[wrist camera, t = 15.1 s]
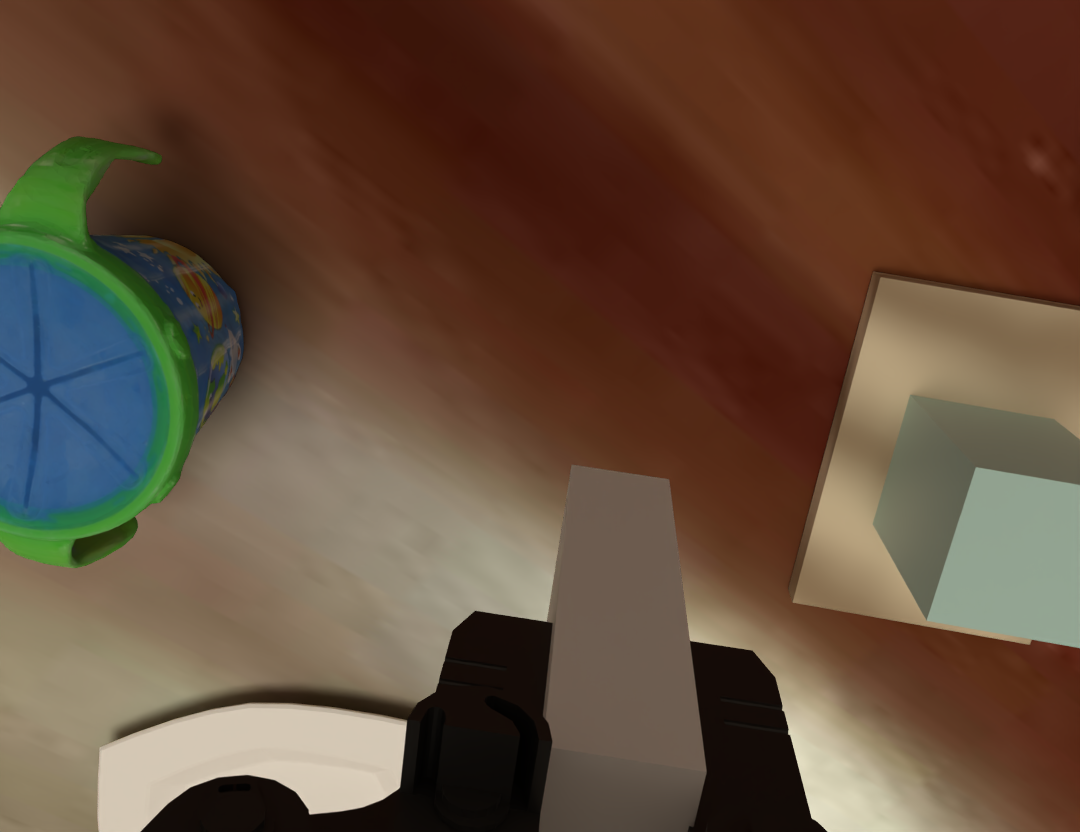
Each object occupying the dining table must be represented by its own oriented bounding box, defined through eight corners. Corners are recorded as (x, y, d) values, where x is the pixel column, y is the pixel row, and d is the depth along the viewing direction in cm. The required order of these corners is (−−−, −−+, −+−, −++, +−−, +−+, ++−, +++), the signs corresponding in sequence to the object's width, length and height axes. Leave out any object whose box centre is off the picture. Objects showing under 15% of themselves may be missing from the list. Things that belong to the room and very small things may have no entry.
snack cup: (66, 96, 39) (-118, 101, 29) (324, 179, 39) (226, 210, 30) (17, 450, 44) (-153, 553, 34) (246, 522, 44) (140, 644, 35)
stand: (873, 271, 38) (926, 312, 32) (1132, 314, 38) (1242, 365, 31) (788, 588, 43) (818, 683, 36) (1018, 629, 43) (1093, 733, 36)
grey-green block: (872, 523, 41) (926, 620, 33) (910, 394, 39) (976, 467, 31) (1009, 547, 40) (1094, 650, 33) (1054, 419, 39) (1153, 497, 31)
